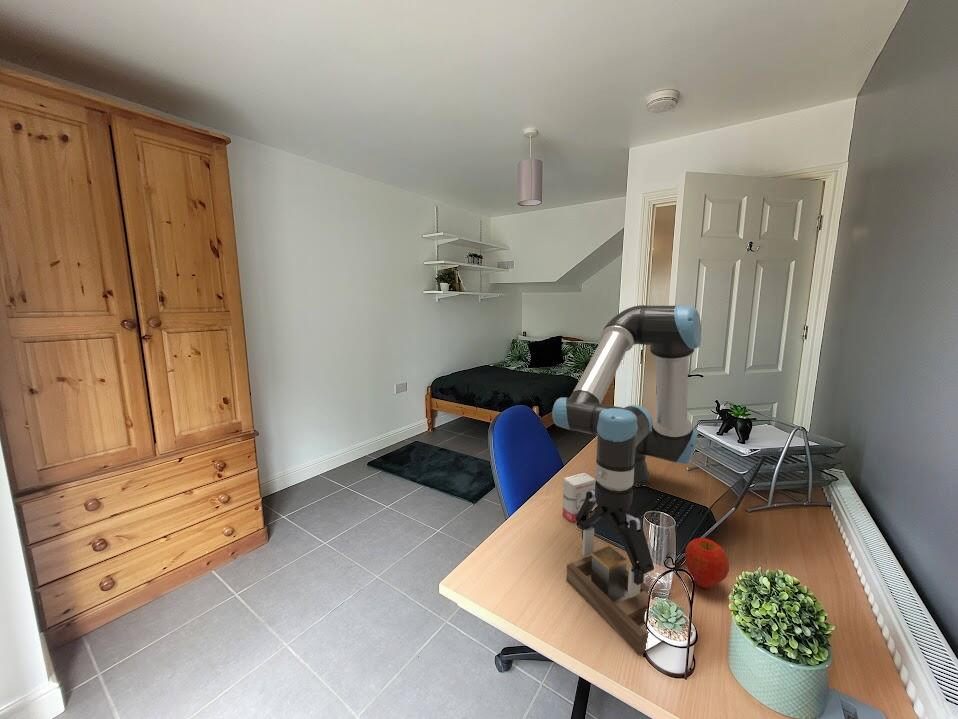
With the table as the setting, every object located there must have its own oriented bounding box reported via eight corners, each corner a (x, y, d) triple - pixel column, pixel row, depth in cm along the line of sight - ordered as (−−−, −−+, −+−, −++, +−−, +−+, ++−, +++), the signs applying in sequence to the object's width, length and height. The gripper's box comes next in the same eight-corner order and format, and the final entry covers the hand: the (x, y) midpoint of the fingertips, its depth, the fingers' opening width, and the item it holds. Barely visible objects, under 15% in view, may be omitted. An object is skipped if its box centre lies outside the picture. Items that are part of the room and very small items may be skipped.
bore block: (602, 565, 94) (603, 550, 93) (679, 632, 75) (681, 614, 74) (566, 580, 89) (566, 564, 88) (639, 655, 70) (640, 636, 70)
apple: (735, 595, 84) (740, 551, 82) (703, 604, 82) (708, 558, 80) (703, 569, 92) (707, 528, 90) (674, 575, 90) (677, 534, 88)
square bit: (607, 580, 88) (609, 545, 87) (625, 596, 84) (627, 559, 82) (590, 588, 86) (591, 552, 84) (607, 605, 81) (609, 567, 80)
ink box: (572, 523, 111) (573, 485, 109) (561, 514, 115) (562, 478, 113) (594, 515, 115) (596, 478, 113) (583, 507, 119) (585, 472, 117)
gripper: (562, 463, 90) (559, 545, 93) (650, 518, 68) (643, 622, 71) (587, 457, 93) (583, 536, 96) (679, 507, 71) (670, 608, 74)
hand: (609, 573), depth 84 cm, fingers open, 13 cm apart
